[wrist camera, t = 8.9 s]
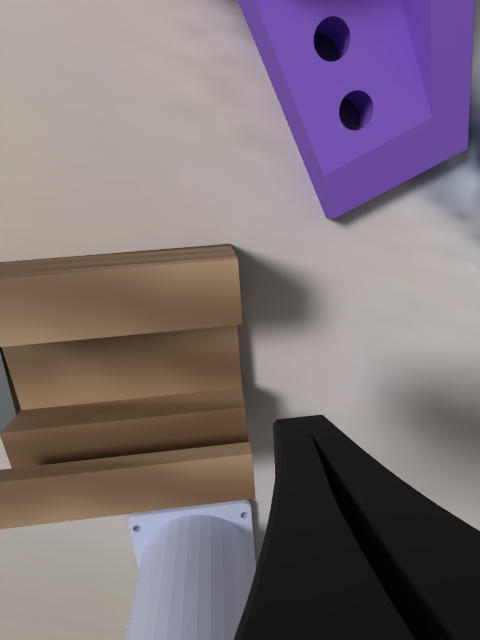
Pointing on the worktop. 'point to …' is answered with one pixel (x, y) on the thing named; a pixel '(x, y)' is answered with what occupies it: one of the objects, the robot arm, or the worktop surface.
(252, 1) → the bracket
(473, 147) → the worktop surface
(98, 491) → the sleeve box
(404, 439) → the worktop surface
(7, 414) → the cover plate
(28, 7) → the worktop surface
